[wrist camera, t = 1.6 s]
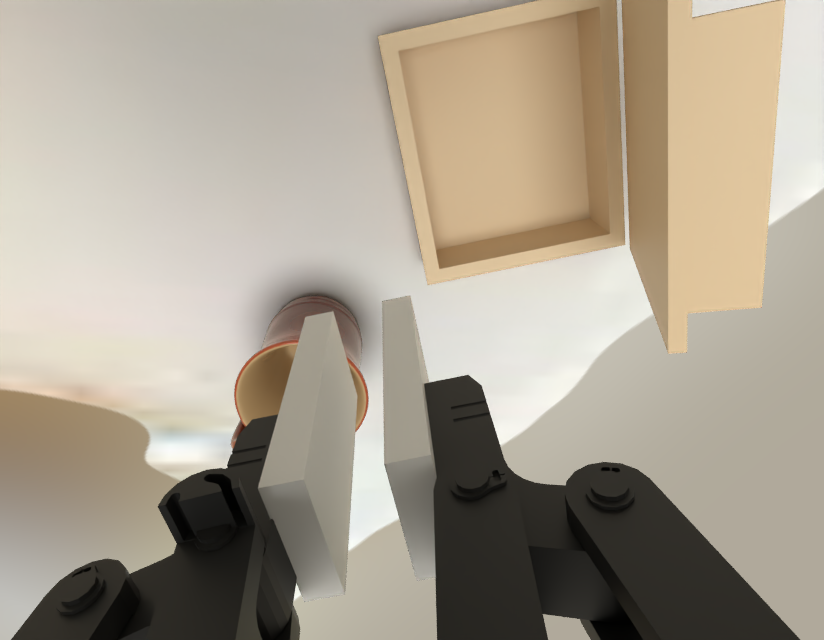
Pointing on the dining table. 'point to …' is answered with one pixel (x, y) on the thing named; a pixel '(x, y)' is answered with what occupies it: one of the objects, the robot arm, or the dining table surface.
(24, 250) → the dining table surface
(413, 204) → the mailer box
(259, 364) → the mug
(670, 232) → the lid
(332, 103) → the dining table surface
